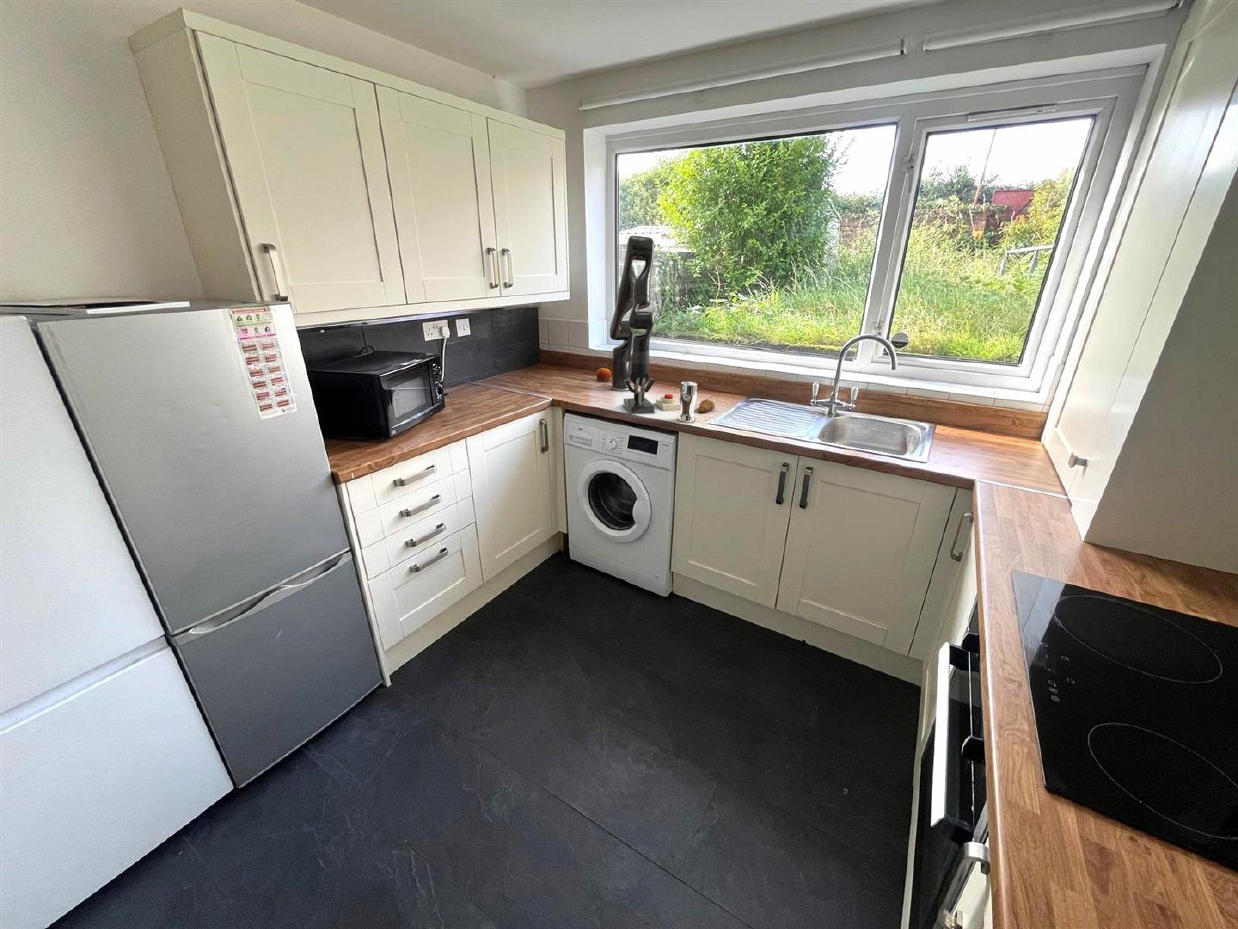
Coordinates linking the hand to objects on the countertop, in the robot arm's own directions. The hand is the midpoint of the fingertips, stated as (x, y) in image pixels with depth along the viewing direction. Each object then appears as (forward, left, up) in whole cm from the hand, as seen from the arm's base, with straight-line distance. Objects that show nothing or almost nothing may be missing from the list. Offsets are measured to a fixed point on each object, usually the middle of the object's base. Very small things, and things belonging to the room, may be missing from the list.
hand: (638, 401), depth 214 cm
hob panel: (0, 0, -3) cm, 3 cm away
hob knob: (0, 0, 0) cm, 0 cm away
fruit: (-58, -4, -3) cm, 58 cm away
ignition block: (-2, +14, -3) cm, 15 cm away
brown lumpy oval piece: (+6, +29, -3) cm, 30 cm away
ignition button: (-2, +14, 0) cm, 14 cm away
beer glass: (+19, +15, -3) cm, 24 cm away
